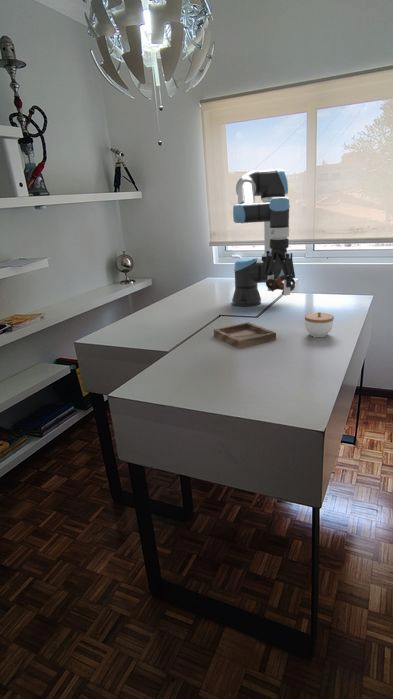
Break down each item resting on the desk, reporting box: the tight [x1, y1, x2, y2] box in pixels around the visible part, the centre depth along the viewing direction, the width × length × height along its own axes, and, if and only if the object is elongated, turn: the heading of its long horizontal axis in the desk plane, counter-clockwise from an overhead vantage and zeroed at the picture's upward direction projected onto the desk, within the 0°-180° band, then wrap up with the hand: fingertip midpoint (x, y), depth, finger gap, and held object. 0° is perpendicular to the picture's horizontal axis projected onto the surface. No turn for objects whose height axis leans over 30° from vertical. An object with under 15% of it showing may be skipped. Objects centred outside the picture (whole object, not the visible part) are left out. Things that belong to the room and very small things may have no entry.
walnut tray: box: [213, 321, 277, 350], centre depth 166 cm, size 19×17×3 cm
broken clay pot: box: [265, 275, 296, 296], centre depth 175 cm, size 12×10×8 cm
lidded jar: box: [304, 311, 335, 338], centre depth 163 cm, size 11×11×9 cm
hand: (278, 292), depth 175 cm, fingers closed on broken clay pot, 10 cm apart
